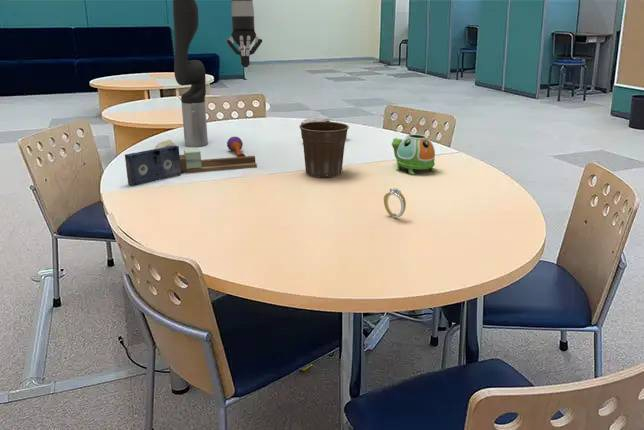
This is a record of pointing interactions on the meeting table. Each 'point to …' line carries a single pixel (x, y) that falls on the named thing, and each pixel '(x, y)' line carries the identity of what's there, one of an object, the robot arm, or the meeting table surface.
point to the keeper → (193, 158)
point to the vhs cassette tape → (152, 165)
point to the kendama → (235, 145)
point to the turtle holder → (414, 153)
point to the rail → (219, 164)
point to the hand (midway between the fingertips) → (245, 67)
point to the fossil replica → (164, 144)
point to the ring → (401, 198)
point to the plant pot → (323, 147)
